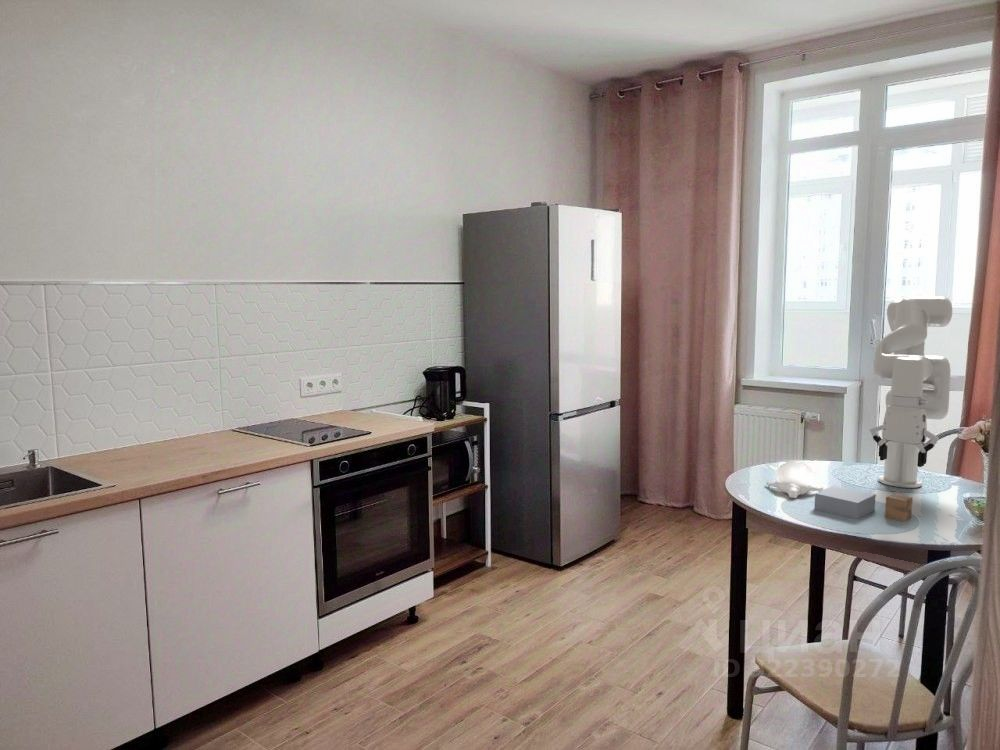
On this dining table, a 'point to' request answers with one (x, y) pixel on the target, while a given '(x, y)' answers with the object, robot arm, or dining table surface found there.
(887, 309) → the robot arm
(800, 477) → the figurine
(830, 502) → the plinth
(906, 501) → the walnut block
